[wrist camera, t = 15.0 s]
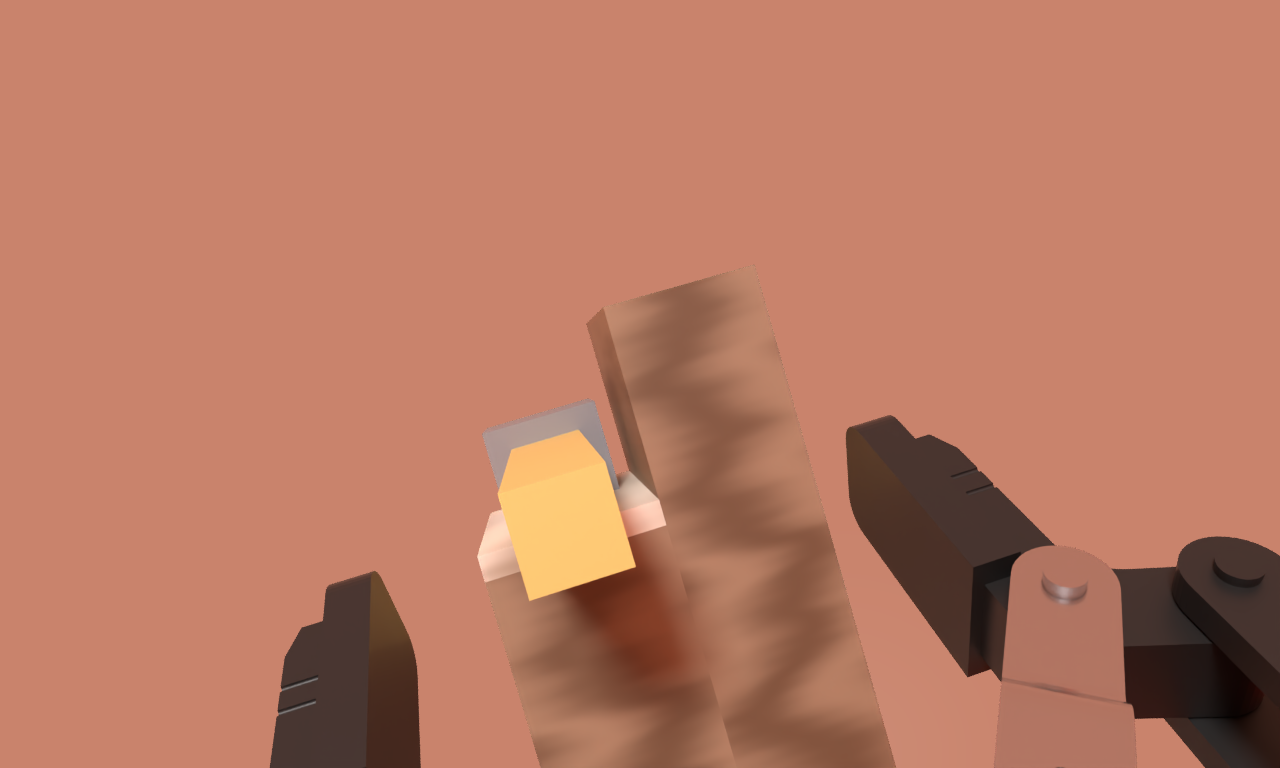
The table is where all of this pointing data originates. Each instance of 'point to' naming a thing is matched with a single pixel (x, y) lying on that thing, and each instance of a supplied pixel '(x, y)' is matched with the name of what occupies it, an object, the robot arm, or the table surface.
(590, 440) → the bar
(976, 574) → the robot arm
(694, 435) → the step stand
